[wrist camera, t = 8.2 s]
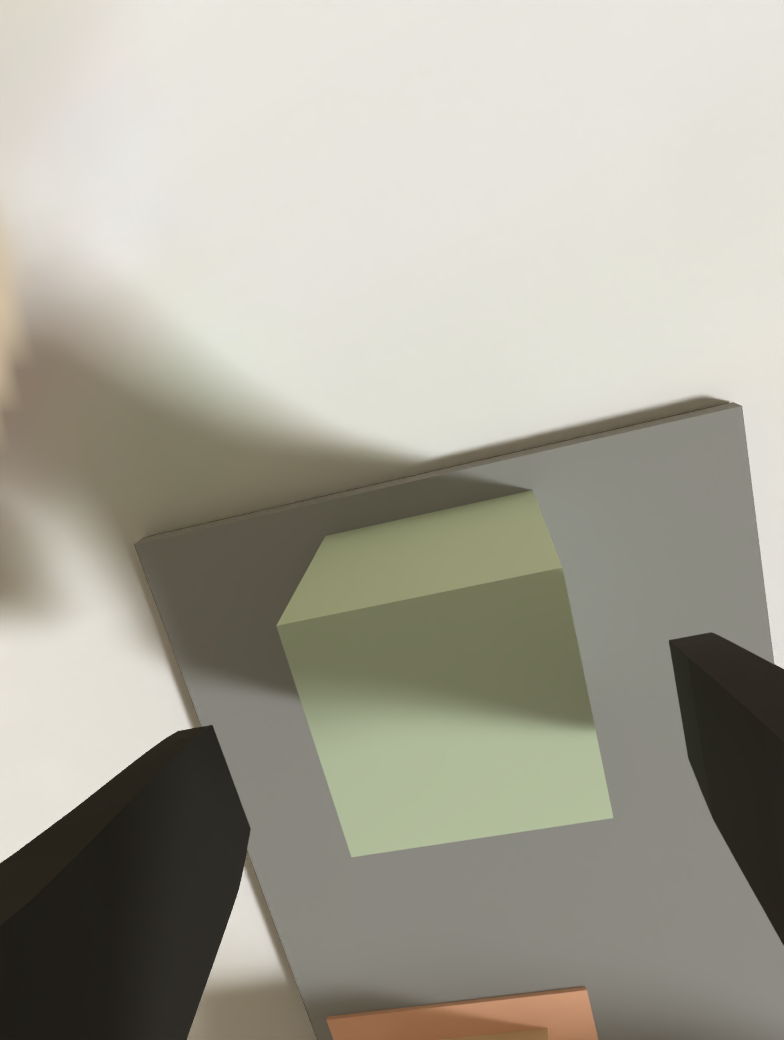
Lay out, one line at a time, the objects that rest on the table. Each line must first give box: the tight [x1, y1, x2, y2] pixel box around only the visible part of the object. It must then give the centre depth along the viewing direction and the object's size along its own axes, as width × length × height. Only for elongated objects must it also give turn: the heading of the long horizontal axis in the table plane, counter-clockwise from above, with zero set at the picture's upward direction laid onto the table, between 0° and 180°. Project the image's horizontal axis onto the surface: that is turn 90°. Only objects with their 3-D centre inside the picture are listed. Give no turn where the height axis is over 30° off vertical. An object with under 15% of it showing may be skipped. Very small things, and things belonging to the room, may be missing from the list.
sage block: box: [276, 490, 613, 857], centre depth 14 cm, size 4×4×4 cm
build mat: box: [134, 402, 784, 1040], centre depth 18 cm, size 22×13×1 cm, turn 14°
